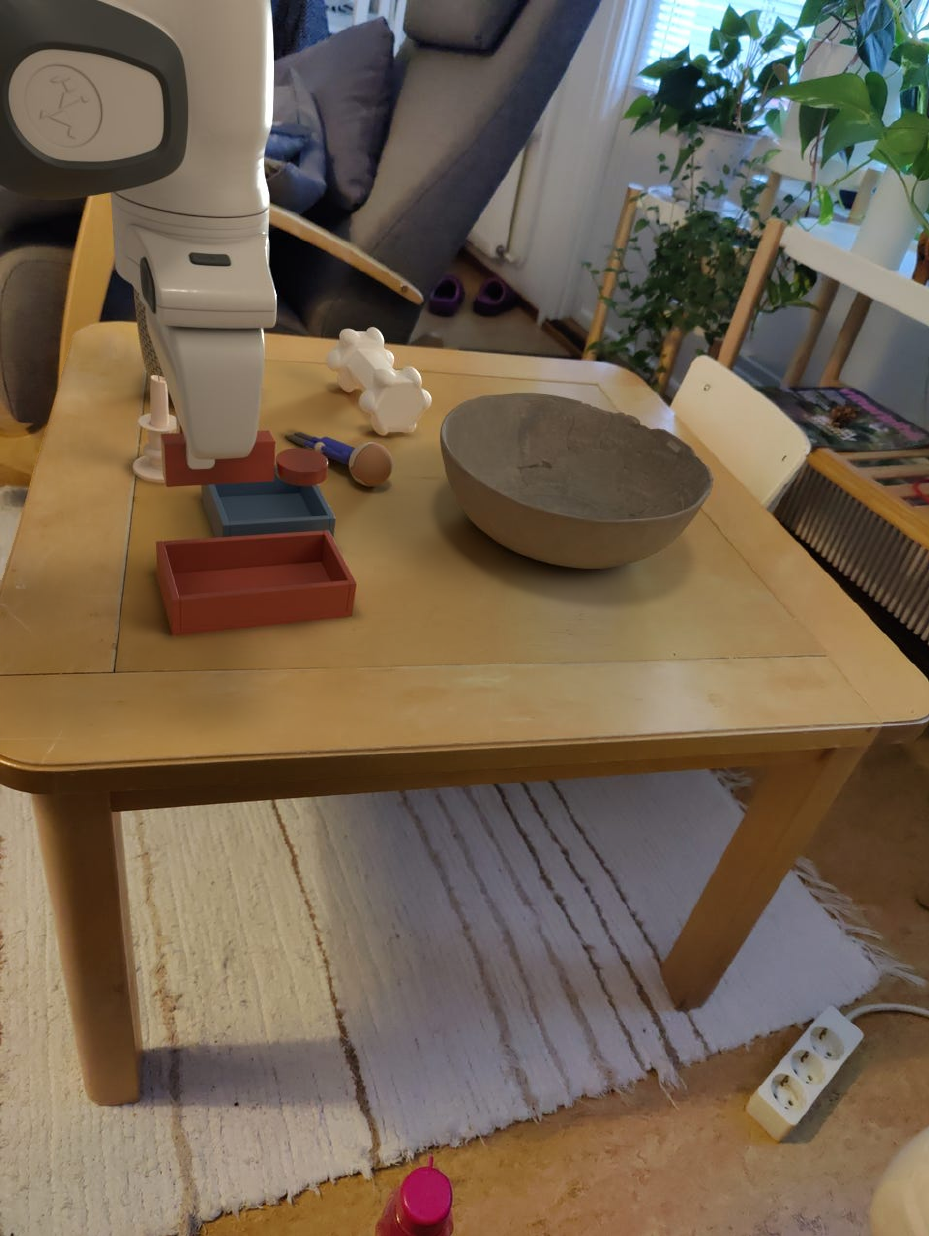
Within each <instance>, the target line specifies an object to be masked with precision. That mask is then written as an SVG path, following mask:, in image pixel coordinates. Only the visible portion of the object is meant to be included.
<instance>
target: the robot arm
mask: <svg viewBox="0 0 929 1236" xmlns="http://www.w3.org/2000/svg"><path fill="white" fill-rule="evenodd" d="M274 63H275V62H274V30H273V14H272V4H271V0H0V188H2V189H4V190H7V191H10V192H12V193H14V194H17V195H21V196H23V197H27V198H31V199H35V200H43V201H65V200H73V199H81V198H87V197H94V196H101V195H105V194H110V204H111V205H110V206H111V220H112V236H113V250H114V251H113V252H114V266H115V270H116V273H117V274H118V275H119V276H120V278H122V280H124V281H126V282H127V283H129V284H131V286H132V287H133V289H134V288H135V289H136V291H137V292H138V293H139V298H140V301H141V302H142V303H143V304H144V305H145V306H146V321H147V328H148V332H149V335H150V338H151V341H152V344H153V347H154V350H155V353H156V355H157V358H158V361H159V364H160V367H161V370H162V373H163V376H164V379H165V381H166V384H167V387H168V390H169V393H170V395H169V397H170V396H171V397H170V399H171V402H172V404H173V406H174V411H175V417H176V427H177V429H176V433H184V455H185V458H186V461H187V465H188V466H189V468H191V469H209V468H212V467H213V466H214V464H215V459H231V458H243V457H246V456H248V455H249V454H250V452H251V451H252V448H253V446H254V444H255V441H256V437H257V432H258V431H259V423H260V415H261V414H260V412H261V404H262V394H263V386H264V385H263V384H264V375H265V361H266V359H265V358H266V357H265V355H266V354H265V353H266V345H265V335H264V331H263V329H262V328H264V329H273V328H274V327H275V326H276V322H277V309H278V308H277V307H278V306H277V305H278V304H277V303H278V300H277V293H276V289H275V283H274V280H273V277H272V272H271V267H270V240H269V227H270V226H269V225H270V192H269V187H268V184H267V179H266V173H265V155H266V154H265V152H266V146H267V143H268V139H269V137H270V134H271V130H272V126H273V117H274V81H275V80H274V77H275V76H274V74H275V73H274V71H275V68H274V67H275V64H274ZM169 393H168V394H169Z"/></svg>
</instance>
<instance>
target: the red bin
mask: <svg viewBox="0 0 929 1236" xmlns="http://www.w3.org/2000/svg"><path fill="white" fill-rule="evenodd" d="M155 556H156V557H155V559H156V578H157V581H158V585H159V589H160V593H161V597H162V601H163V605H164V609H165V613H166V616H167V621H168V624H169V628H170V632H171V636H172V637H176V636H184V635H185V636H186V635H194V634H195V635H196V634H203V633H211V632H212V633H213V632H220V631H221V632H222V631H230V630H231V631H232V630H238V629H247V628H248V629H249V628H250V629H251V628H257V627H258V628H259V627H266V626H274V625H275V626H277V625H285V624H294V623H303V622H304V623H305V622H313V621H320V620H321V621H322V620H329V619H338V618H349V617H353V611H354V606H355V598H356V590H357V582H356V579H355V578H354V575H353V574H352V571H351V570H350V568H349V566H348V564H347V562H346V561H345V559H344V556H343V554H342V553H341V550H340V549H339V547H338V545H337V543H336V541H335V539H334V538H333V537H332V536H331V534H330V532H329V530H325V531H310V532H294V533H279V534H264V535H249V536H234V537H219V538H215V537H206V538H205V537H204V538H192V539H191V538H190V539H175V540H160V541H159V540H158V541H155Z"/></svg>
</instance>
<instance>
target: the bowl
mask: <svg viewBox="0 0 929 1236" xmlns="http://www.w3.org/2000/svg"><path fill="white" fill-rule="evenodd" d="M439 443H440V450H441V456H442V460H443V466H444V470H445V471H444V472H445V475H446V478H447V481H448V483H449V486H450V489H451V491H452V493H453V496H454V498H455V500H456V502H457V503H458V505H459V507H460V508H461V509H462V511H463V512H464V513H465V515H466V516H467V517H468V519H469V520H470V521H471V522H472V523H473V524H474V525H475V526H476V527H477V528H478V529H479V530H480V531H482V532H483V533H484V534H485V535H486V536H488V537H489V538H491V539H492V540H493V541H495V542H496V543H497V544H500V545H501V546H502V547H505V548H507V549H508V550H510V551H513V552H515V553H517V554H519V555H521V556H525V557H527V558H530V559H532V560H535V561H539V562H542V563H546V564H550V565H554V566H561V567H565V568H573V569H584V570H599V569H600V570H604V569H609V568H615V567H621V566H626V565H629V564H632V563H636V562H639V561H643V560H645V559H647V558H649V557H651V556H653V555H656V554H658V553H659V552H661V551H662V550H664V549H665V548H667V547H668V546H669V545H671V544H672V543H674V541H676V540H677V538H679V536H681V535H682V534H683V532H684V531H685V530H686V528H687V527H688V526H689V525H690V523H691V522H692V521H693V520H694V519H695V517H696V516H697V515H698V513H699V511H700V510H701V508H702V506H703V505H704V504H705V502H706V501H707V499H708V498H709V497H710V495H711V492H712V490H713V487H714V477H713V473H712V471H711V468H710V467H709V466H708V465H707V464H706V463H704V462H703V460H702V459H701V457H700V456H698V455H697V454H696V452H695V450H694V449H693V448H692V446H691V445H689V444H687V443H686V442H685V441H684V440H682V439H681V438H679V437H678V436H676V435H675V434H673V433H671V432H669V431H668V430H667V429H664V428H659V427H658V428H650V427H648V426H647V425H643V424H641V421H640V420H639V418H637V416H635V415H631V414H626V413H625V412H613V411H608V410H604V409H602V408H599V407H597V406H594V405H593V406H592V405H591V404H590V403H586V402H583V401H582V400H578V399H573V398H570V397H566V396H560V395H556V394H548V393H539V392H538V393H537V392H514V393H513V392H512V393H511V392H510V393H501V394H485V395H481V396H477V397H475V398H471V399H467V400H465V401H463V402H461V403H459V404H458V405H456V406H455V407H453V408H452V409H451V410H450V411H449V412H448V413H447V414H446V415H445V417H444V418H443V421H442V423H441V426H440V432H439Z"/></svg>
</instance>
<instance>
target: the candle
mask: <svg viewBox="0 0 929 1236" xmlns="http://www.w3.org/2000/svg"><path fill="white" fill-rule="evenodd" d="M149 378H150V387H149V388H150V389H149V390H150V391H149V395H150V396H149V399H150V400H149V401H150V403H149V406H150V409H149V411H150V413H149V412H148V413H145V414H143V415H141V416H140V417H139V418H138V420H137V423H138V425H139V426H140V427H141V428H143V429H145V430H147V431H148V433H147V441H148V443H147V442H146V443H145V444H144V445H143V446H142V453H143V455H142V456H140V457H138V458H137V459H135V460H134V462H133V463H132V472H133V473H134V475H135V476H136V477H138V478H139V479H142V480H144V481H147V482H150V483H156V484H165V481H164V477H163V471H162V452H161V434H168V433H172V432H173V431H175V430H177V427H176V415H175V416H174V415H172V414H169V413H170V412H169V393H168V392H167V384H166V381H165V379H164V378H163V377H161V376H159V373H158V376H157V375H152V376H151V377H150V376H149Z"/></svg>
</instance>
